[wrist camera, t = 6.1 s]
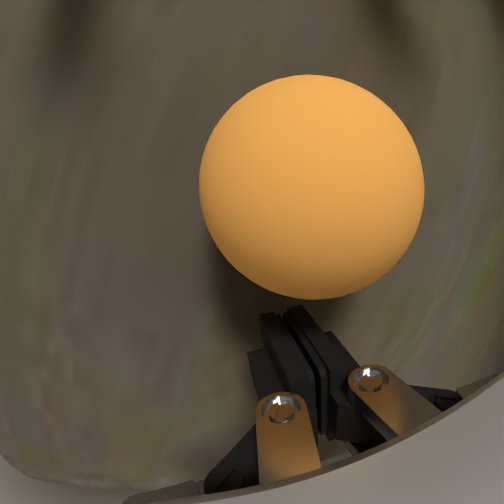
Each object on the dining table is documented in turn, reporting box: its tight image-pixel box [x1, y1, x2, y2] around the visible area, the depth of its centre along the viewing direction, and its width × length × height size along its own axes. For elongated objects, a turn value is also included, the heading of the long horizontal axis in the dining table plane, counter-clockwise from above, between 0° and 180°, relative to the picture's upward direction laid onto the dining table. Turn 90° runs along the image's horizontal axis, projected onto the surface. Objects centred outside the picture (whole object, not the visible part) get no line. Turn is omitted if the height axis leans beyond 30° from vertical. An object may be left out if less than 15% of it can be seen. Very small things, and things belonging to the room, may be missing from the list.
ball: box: [199, 75, 424, 300], centre depth 8 cm, size 6×6×6 cm
